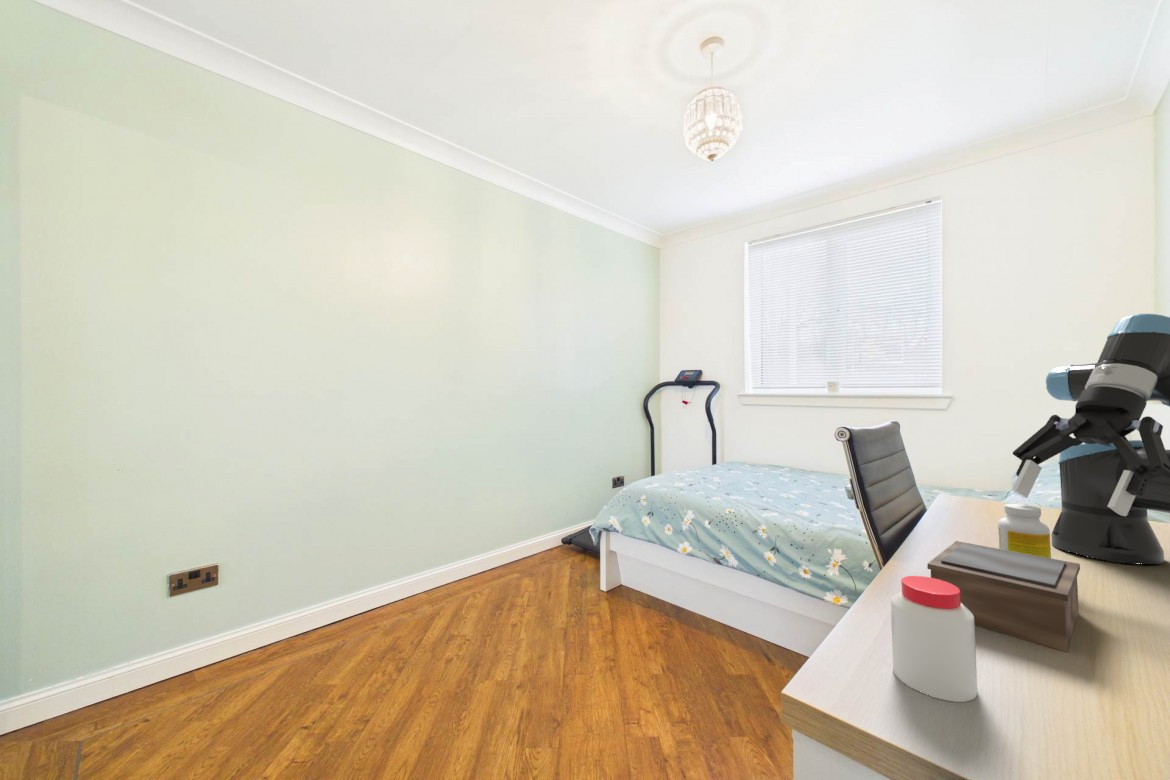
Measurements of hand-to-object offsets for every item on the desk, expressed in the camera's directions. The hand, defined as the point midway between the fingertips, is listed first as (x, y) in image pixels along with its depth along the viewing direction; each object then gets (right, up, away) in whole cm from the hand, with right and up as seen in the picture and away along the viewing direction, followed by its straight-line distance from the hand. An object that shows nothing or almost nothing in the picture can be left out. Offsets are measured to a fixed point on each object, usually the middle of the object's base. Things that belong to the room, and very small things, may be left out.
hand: (1063, 502), depth 75 cm
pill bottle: (-40, -15, -23) cm, 49 cm away
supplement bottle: (-2, -15, +5) cm, 16 cm away
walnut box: (-17, -15, -8) cm, 24 cm away
